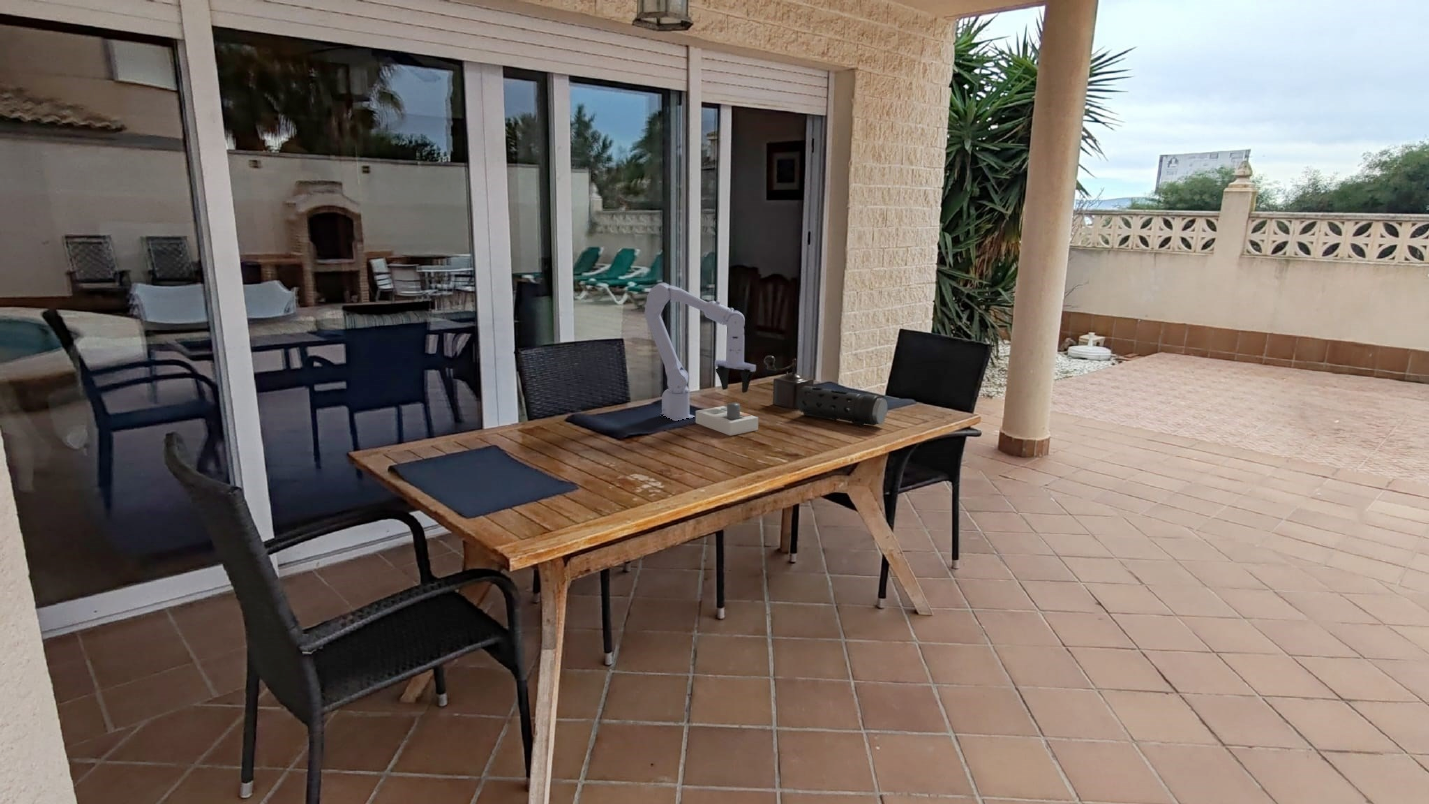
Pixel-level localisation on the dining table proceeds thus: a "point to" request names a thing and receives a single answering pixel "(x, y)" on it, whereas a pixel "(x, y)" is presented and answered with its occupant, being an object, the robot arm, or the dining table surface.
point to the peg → (733, 411)
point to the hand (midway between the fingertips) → (734, 390)
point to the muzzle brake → (842, 405)
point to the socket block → (726, 421)
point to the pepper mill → (787, 385)
